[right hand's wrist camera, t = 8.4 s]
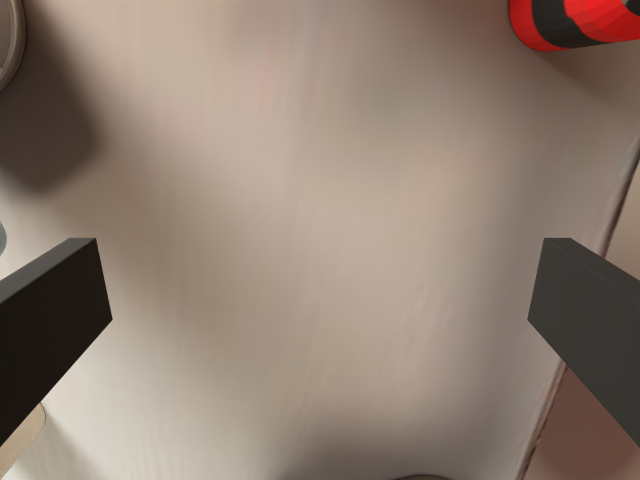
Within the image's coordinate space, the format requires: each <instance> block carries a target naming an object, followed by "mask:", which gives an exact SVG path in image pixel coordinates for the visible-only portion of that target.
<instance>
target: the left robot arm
mask: <svg viewBox="0 0 640 480" xmlns="http://www.w3.org/2000/svg"><path fill="white" fill-rule="evenodd" d="M25 40H26V26H25V16H24V10H23V6H22V2H21V0H0V91H1V90H2V89H3V88H4V87H5V86H6V85H7V84H8V83H9V82H10V80H11V79H12V78H13V76H14V75H15V73H16V72H17V70H18V67H19V65H20V63H21V60H22V57H23V53H24V48H25ZM6 242H7V236H6V232H5V229H4V227H3V226H2V224H1V222H0V256H1V254H2V253H3V251H4V249H5V247H6Z"/></svg>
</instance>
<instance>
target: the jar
mask: <svg viewBox="0 0 640 480" xmlns="http://www.w3.org/2000/svg"><path fill="white" fill-rule="evenodd" d="M44 423H45V412H44V409H43V407H42V405H41V404H40V403H39V404H38V405H37V406H36V407H35V409H34V410H33V411H32V412H31V413H30V414H29V415H28V416H27V418H26V419H25V420H24V421H23V422H22V423H21V424H20V426H19V427H18V428H17V429H16V430H15V431H14V432H13V434H12V435H11V436H10V437H9V438H8V439H7V440H6V442H5V443H4V444H3V445H2V446H1V447H0V480H1V479H2V478H3V476H4V475H5V474H6V473H7V471H8V470H9V469H10V468H11V467H12V465H13V464H14V463H15V462H16V460H17V459H18V458H19V457H20V455H21V454H22V453H23V452H24V450H25V449H26V448H27V447H28V445H29V444H30V443H31V442H32V440H33V439H34V438H35V437H36V435H37V434H38V433H39V432H40V431H41V429H42V428H43V426H44Z"/></svg>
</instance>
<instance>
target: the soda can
mask: <svg viewBox="0 0 640 480" xmlns="http://www.w3.org/2000/svg"><path fill="white" fill-rule="evenodd" d="M510 19H511V23H512V26H513V29H514V31H515V33H516V35H517V36H518V38H519V39H520V40H521V41H522V42H523V43H524V44H525V45H527V46H529V47H530V48H532V49H535V50H538V51H546V52H550V51H558V50H565V49H572V48H579V47H586V46H594V45H601V44H608V43H615V42H622V41H629V40H637V39H640V0H510Z"/></svg>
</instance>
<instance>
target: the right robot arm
mask: <svg viewBox="0 0 640 480" xmlns="http://www.w3.org/2000/svg"><path fill="white" fill-rule="evenodd" d="M112 320H113V319H112V314H111V309H110V305H109V300H108V295H107V290H106V285H105V280H104V275H103V270H102V266H101V261H100V256H99V251H98V246H97V241H96V238H69V239H67V240H66V241H64V242H62V243H61V244H59V245H58V246H56V247H54V248H53V249H51V250H49V251H48V252H46V253H45V254H43V255H41V256H40V257H38V258H36V259H35V260H33V261H32V262H30V263H28V264H27V265H25V266H23V267H22V268H20V269H19V270H17V271H15V272H14V273H12V274H11V275H9V276H7V277H6V278H4V279H2V280H1V281H0V447H1V446H2V445H3V444H4V443H5V442H6V440H7V439H8V438H9V437H10V436H11V435H12V434H13V432H14V431H15V430H16V429H17V428H18V427H19V426H20V424H21V423H22V422H23V421H24V420H25V419H26V418H27V416H28V415H29V414H30V413H31V412H32V411H33V410H34V409H35V407H36V406H37V405H38V404H39V403H40V402H41V401H42V399H43V398H44V397H45V396H46V395H47V394H48V393H49V391H50V390H51V389H52V388H53V387H54V386H55V385H56V383H57V382H58V381H59V380H60V379H61V378H62V377H63V376H64V374H65V373H66V372H67V371H68V370H69V369H70V368H71V366H72V365H73V364H74V363H75V362H76V361H77V360H78V358H79V357H80V356H81V355H82V354H83V353H84V352H85V350H86V349H87V348H88V347H89V346H90V345H91V344H92V343H93V341H94V340H95V339H96V338H97V337H98V336H99V335H100V333H101V332H102V331H103V330H104V329H105V328H106V327H107V325H108V324H109V323H110V322H111V321H112ZM527 320H528V321H529V322H530V323H531V324H532V325H533V327H534V328H535V329H536V330H537V331H538V332H539V333H540V335H541V336H542V337H543V338H544V339H545V340H546V341H547V343H548V344H549V345H550V346H551V347H552V348H553V349H554V350H555V352H556V353H557V354H558V355H559V356H560V357H561V358H562V360H563V361H564V362H565V363H566V364H567V365H568V366H569V368H570V369H571V370H572V371H573V372H574V373H575V374H576V376H577V377H578V378H579V379H580V380H581V381H582V382H583V383H584V385H585V386H586V387H587V388H588V389H589V390H590V391H591V393H592V394H593V395H594V396H595V397H596V398H597V399H598V401H599V402H600V403H601V404H602V405H603V406H604V407H605V409H606V410H607V411H608V412H609V413H610V414H611V415H612V416H613V418H614V419H615V420H616V421H617V422H618V423H619V424H620V426H621V427H622V428H623V429H624V430H625V431H626V432H627V434H628V435H629V436H630V437H631V438H632V439H633V440H634V441H635V443H636V444H637V445H638V446H639V447H640V281H639V280H638V279H636V278H634V277H633V276H631V275H629V274H628V273H626V272H625V271H623V270H621V269H620V268H618V267H617V266H615V265H613V264H612V263H610V262H608V261H607V260H605V259H604V258H602V257H600V256H599V255H597V254H595V253H594V252H592V251H591V250H589V249H587V248H586V247H584V246H582V245H581V244H579V243H578V242H576V241H574V240H573V239H571V238H544V241H543V246H542V251H541V256H540V261H539V266H538V270H537V275H536V280H535V285H534V290H533V295H532V300H531V305H530V309H529V314H528V319H527ZM399 480H448V479H445V478H441V477H436V476H411V477H406V478H402V479H399Z"/></svg>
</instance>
